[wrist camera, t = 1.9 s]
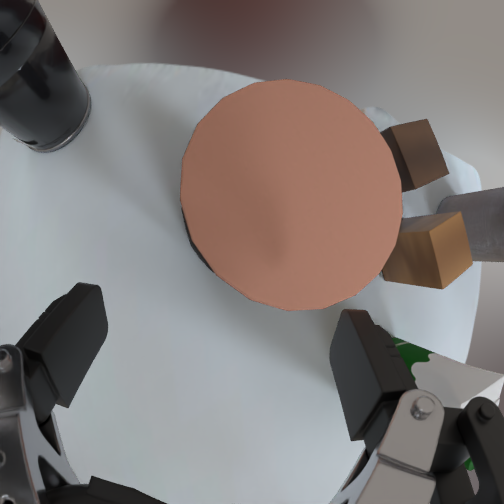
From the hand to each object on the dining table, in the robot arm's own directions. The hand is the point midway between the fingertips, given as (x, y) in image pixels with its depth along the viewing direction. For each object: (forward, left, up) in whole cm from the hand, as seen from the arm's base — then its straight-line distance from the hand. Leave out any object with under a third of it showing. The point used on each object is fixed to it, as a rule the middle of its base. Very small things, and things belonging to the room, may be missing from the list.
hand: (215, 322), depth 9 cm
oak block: (+7, +23, -20) cm, 31 cm away
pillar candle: (+9, +36, -20) cm, 42 cm away
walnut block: (-3, +23, -20) cm, 31 cm away
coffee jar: (-3, +6, -20) cm, 21 cm away
